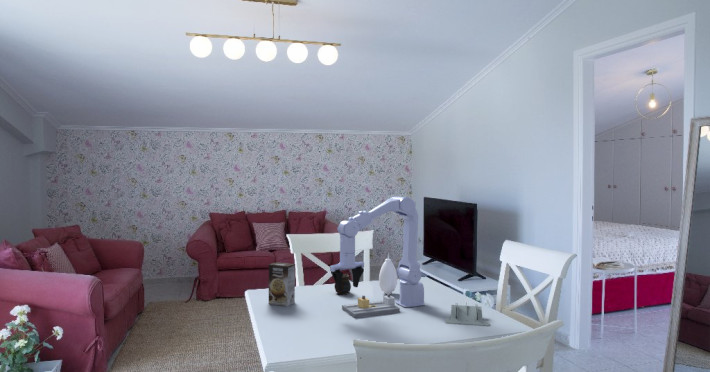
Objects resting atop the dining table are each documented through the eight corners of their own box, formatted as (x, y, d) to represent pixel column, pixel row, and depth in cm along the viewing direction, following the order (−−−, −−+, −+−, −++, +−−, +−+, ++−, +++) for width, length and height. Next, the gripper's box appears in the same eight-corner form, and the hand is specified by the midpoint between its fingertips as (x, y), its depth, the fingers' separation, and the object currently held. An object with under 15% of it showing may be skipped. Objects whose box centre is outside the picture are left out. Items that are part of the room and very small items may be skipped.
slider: (364, 304, 187) (364, 294, 187) (369, 307, 183) (369, 296, 183) (357, 305, 186) (357, 295, 186) (362, 308, 182) (362, 297, 182)
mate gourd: (343, 290, 217) (343, 268, 216) (354, 293, 211) (355, 271, 211) (331, 293, 212) (331, 270, 212) (342, 296, 206) (342, 273, 206)
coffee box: (267, 304, 194) (267, 264, 194) (276, 300, 200) (276, 261, 200) (287, 306, 191) (287, 266, 190) (295, 302, 197) (295, 263, 196)
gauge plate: (385, 304, 195) (385, 290, 195) (399, 312, 184) (400, 297, 184) (341, 309, 188) (342, 294, 187) (354, 317, 177) (354, 302, 176)
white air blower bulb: (375, 294, 210) (376, 253, 210) (384, 290, 217) (385, 251, 216) (391, 297, 206) (391, 255, 205) (400, 293, 212) (400, 252, 212)
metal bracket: (446, 299, 183) (486, 301, 180) (446, 312, 185) (486, 315, 182) (445, 320, 170) (489, 323, 167) (445, 334, 171) (488, 338, 168)
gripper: (356, 249, 189) (356, 283, 190) (325, 252, 181) (325, 288, 181) (367, 251, 184) (367, 287, 184) (336, 255, 175) (335, 292, 175)
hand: (347, 288), depth 182 cm, fingers open, 7 cm apart
